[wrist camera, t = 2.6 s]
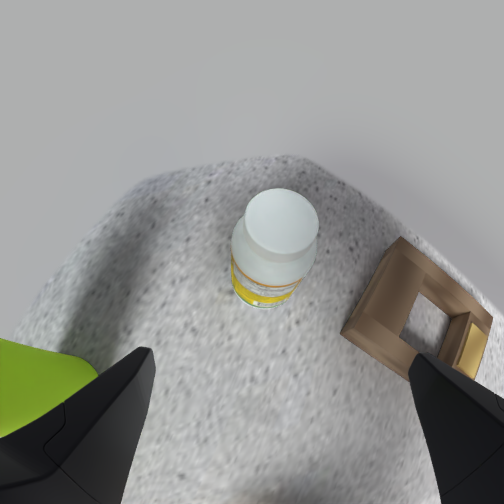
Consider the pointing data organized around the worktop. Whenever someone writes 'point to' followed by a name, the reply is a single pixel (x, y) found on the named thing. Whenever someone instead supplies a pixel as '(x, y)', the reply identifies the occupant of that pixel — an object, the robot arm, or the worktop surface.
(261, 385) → the worktop surface
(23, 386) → the soap dispenser
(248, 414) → the worktop surface
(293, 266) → the supplement bottle
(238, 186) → the worktop surface
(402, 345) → the socket block
